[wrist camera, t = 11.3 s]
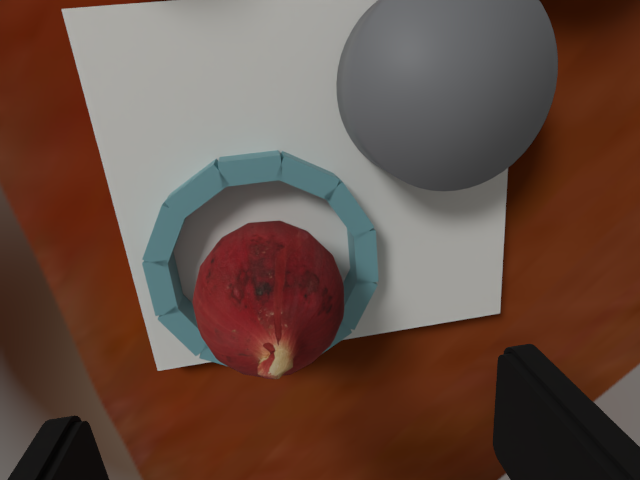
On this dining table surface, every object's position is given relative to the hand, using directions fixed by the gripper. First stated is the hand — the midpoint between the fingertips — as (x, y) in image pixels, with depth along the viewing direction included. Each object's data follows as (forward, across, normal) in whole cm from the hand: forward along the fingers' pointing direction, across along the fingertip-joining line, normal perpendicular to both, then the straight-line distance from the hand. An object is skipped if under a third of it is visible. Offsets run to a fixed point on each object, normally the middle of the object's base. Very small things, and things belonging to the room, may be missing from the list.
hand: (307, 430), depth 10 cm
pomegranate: (+11, +1, 0) cm, 11 cm away
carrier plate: (+13, -2, -3) cm, 13 cm away
